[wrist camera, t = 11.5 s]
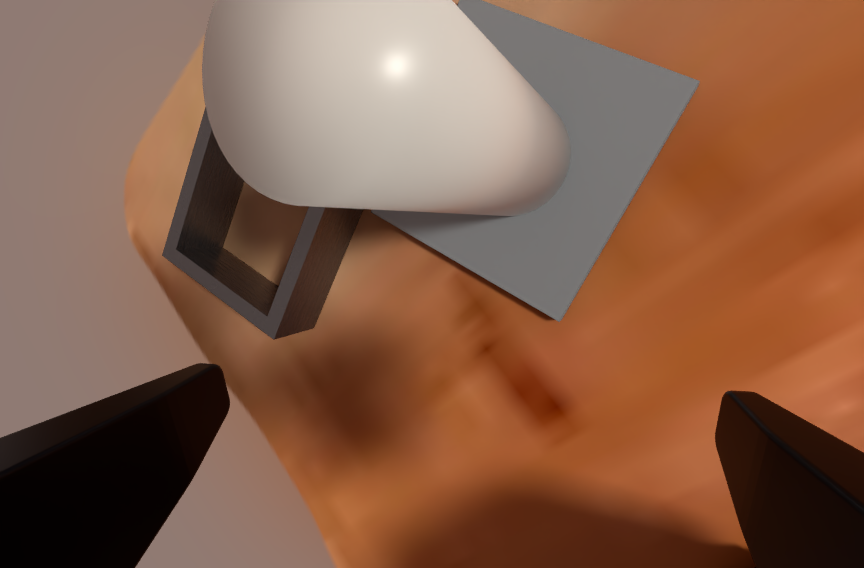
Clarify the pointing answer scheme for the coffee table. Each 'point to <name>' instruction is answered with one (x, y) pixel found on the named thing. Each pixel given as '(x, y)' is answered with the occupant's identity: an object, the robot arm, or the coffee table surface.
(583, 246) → the slate mat
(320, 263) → the grey square tray
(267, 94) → the white plug
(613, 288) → the coffee table surface
